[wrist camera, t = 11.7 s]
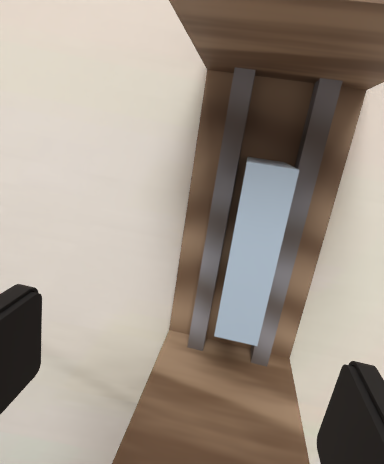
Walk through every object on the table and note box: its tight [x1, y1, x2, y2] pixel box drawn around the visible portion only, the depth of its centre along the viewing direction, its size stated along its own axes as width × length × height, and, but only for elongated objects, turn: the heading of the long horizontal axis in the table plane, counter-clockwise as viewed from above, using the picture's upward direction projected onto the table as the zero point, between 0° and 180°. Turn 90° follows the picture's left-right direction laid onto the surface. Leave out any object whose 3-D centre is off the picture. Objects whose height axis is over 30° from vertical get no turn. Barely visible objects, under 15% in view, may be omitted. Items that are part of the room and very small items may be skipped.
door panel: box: [214, 157, 299, 346], centre depth 24 cm, size 12×3×8 cm, turn 171°
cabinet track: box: [112, 0, 384, 464], centre depth 21 cm, size 30×12×16 cm, turn 171°
